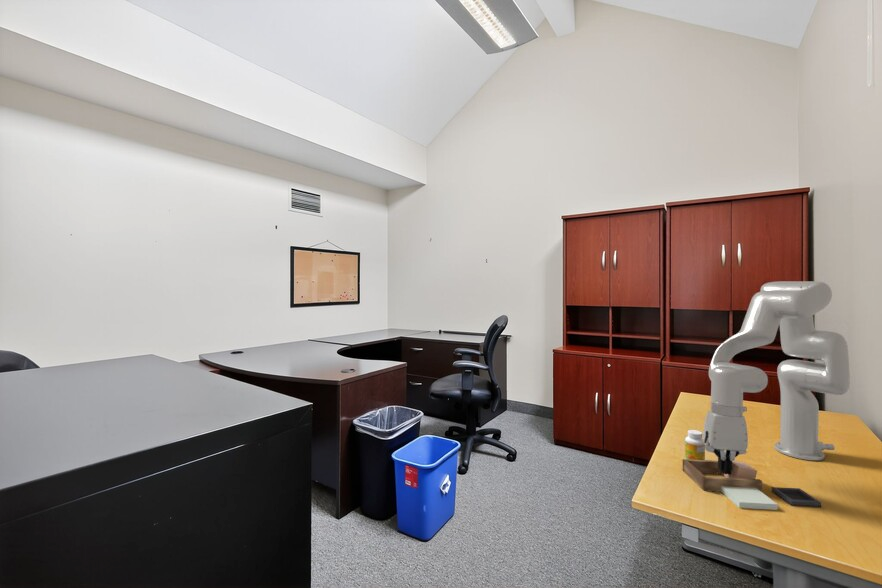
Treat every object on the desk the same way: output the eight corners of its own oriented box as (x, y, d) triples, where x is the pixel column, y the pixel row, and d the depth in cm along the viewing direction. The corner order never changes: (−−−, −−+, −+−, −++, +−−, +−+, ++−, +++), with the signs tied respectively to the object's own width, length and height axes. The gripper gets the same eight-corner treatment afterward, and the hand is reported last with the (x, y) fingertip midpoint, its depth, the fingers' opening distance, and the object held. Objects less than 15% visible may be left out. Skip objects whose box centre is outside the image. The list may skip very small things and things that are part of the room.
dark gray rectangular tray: (799, 492, 108) (799, 488, 108) (821, 507, 101) (821, 502, 101) (771, 491, 109) (772, 487, 109) (791, 505, 102) (791, 501, 102)
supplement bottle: (681, 458, 130) (681, 429, 130) (696, 457, 130) (696, 428, 130) (693, 465, 125) (693, 435, 124) (708, 464, 125) (709, 434, 125)
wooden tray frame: (734, 472, 120) (734, 461, 120) (762, 493, 108) (762, 481, 108) (682, 470, 121) (682, 459, 121) (703, 490, 109) (703, 478, 109)
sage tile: (756, 493, 108) (756, 487, 108) (777, 509, 100) (777, 504, 100) (721, 491, 109) (721, 486, 109) (739, 507, 101) (739, 502, 101)
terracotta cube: (741, 478, 116) (745, 462, 116) (753, 487, 111) (757, 470, 111) (723, 475, 116) (727, 459, 116) (735, 483, 111) (738, 466, 111)
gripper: (745, 407, 117) (744, 468, 117) (692, 404, 118) (690, 464, 119) (763, 415, 109) (761, 480, 109) (705, 412, 111) (704, 476, 111)
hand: (724, 472), depth 114 cm, fingers closed
